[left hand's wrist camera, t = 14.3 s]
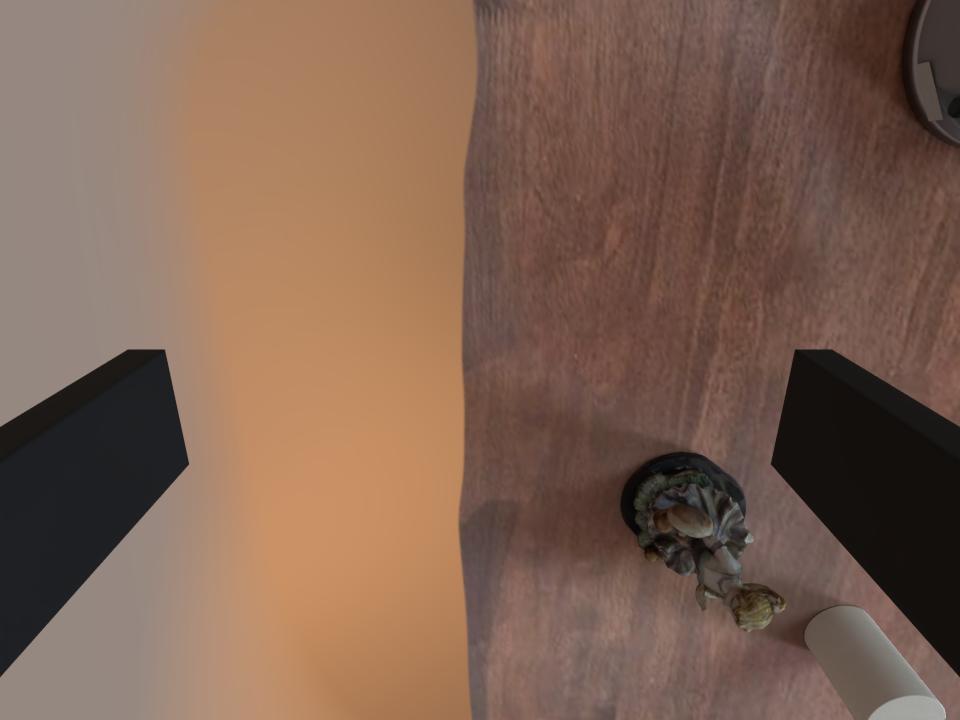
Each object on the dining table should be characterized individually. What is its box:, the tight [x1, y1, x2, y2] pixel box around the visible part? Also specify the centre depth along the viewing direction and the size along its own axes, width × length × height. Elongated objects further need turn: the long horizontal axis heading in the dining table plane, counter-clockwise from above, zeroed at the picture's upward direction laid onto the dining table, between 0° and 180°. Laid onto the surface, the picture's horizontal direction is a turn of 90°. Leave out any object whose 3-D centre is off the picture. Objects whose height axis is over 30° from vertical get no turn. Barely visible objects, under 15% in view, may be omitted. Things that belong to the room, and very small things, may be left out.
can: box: [804, 606, 946, 720], centre depth 54 cm, size 7×7×10 cm
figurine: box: [621, 452, 786, 632], centre depth 46 cm, size 12×11×15 cm
